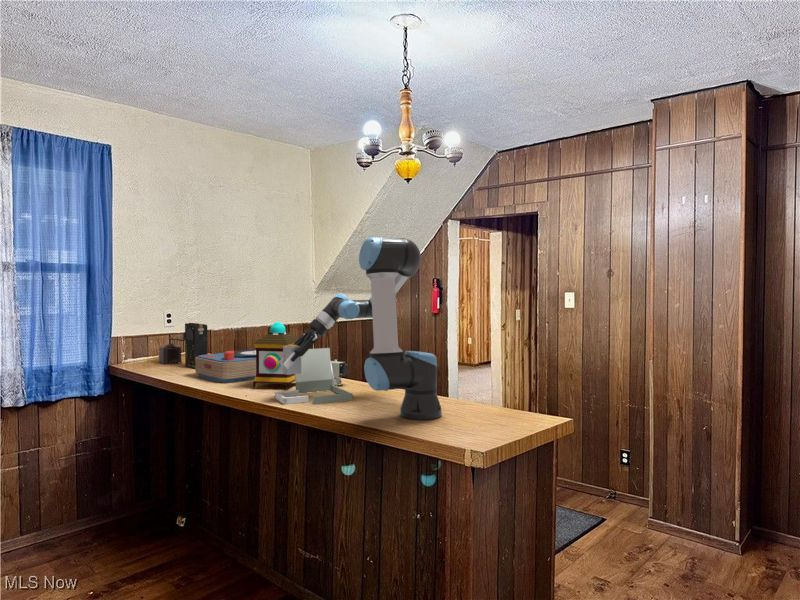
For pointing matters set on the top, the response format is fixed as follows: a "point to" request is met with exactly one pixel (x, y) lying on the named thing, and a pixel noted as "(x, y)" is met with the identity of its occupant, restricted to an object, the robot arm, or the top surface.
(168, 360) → the dark handled box
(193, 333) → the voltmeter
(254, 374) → the record player
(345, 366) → the pneumatic valve
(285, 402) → the dock
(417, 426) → the top surface
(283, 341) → the decorative lantern
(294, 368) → the block
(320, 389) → the case
